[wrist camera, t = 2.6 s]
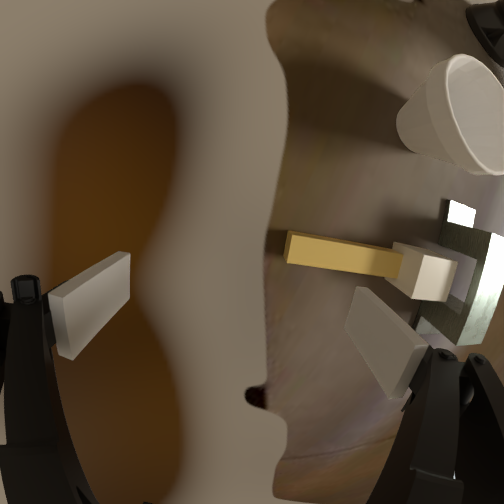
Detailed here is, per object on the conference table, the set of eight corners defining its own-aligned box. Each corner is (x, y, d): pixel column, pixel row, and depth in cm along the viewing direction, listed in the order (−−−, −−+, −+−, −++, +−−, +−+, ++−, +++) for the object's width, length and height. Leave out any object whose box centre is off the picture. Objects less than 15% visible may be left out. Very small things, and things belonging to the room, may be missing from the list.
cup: (459, 150, 28) (528, 146, 15) (409, 191, 30) (484, 200, 17) (417, 75, 26) (478, 44, 13) (359, 107, 28) (421, 69, 14)
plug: (289, 221, 31) (301, 231, 24) (426, 248, 32) (457, 262, 25) (281, 263, 32) (290, 284, 25) (417, 283, 33) (446, 301, 26)
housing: (446, 199, 30) (496, 207, 20) (471, 209, 30) (517, 219, 21) (411, 330, 35) (446, 366, 25) (436, 331, 35) (471, 362, 25)
